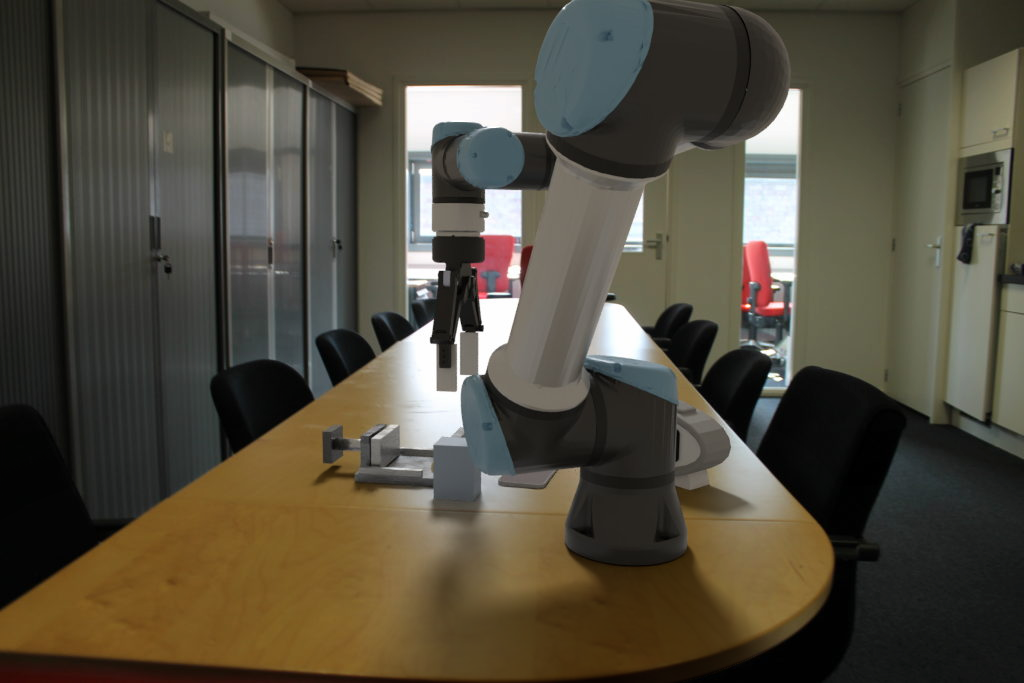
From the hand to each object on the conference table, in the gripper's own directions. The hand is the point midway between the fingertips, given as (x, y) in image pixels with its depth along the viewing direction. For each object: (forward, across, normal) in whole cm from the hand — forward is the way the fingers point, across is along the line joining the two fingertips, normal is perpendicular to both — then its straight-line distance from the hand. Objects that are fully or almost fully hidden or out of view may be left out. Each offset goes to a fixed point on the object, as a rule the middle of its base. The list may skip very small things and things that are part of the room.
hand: (458, 382), depth 121 cm
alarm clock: (+17, +16, -29) cm, 37 cm away
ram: (+15, +10, +19) cm, 26 cm away
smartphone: (+17, +13, -9) cm, 23 cm away
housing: (+17, 0, 0) cm, 17 cm away
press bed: (+17, +10, +10) cm, 22 cm away
